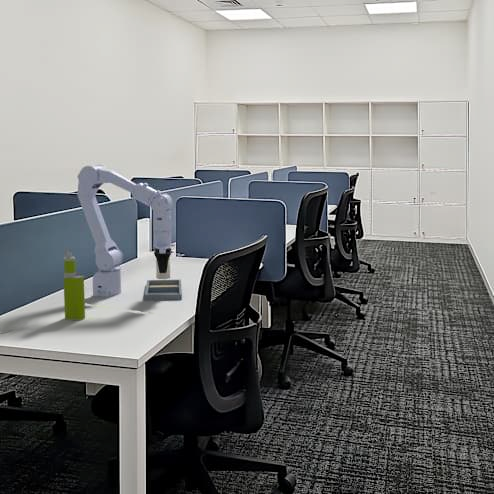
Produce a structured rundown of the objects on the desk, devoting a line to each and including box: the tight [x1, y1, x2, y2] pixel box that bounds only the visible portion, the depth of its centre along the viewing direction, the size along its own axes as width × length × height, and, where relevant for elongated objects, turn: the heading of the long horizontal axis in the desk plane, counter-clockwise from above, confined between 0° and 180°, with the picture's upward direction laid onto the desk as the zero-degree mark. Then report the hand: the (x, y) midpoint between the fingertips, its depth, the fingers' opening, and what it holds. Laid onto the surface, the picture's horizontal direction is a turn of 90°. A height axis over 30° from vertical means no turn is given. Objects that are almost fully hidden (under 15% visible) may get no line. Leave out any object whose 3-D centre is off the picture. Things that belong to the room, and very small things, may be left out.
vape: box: [63, 250, 86, 321], centre depth 201 cm, size 4×6×20 cm, turn 81°
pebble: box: [155, 258, 171, 280], centre depth 227 cm, size 5×5×6 cm
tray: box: [144, 279, 183, 301], centre depth 234 cm, size 24×12×2 cm, turn 6°
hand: (163, 271), depth 227 cm, fingers closed on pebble, 5 cm apart
